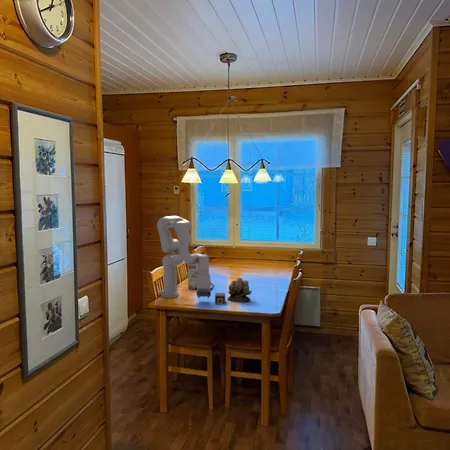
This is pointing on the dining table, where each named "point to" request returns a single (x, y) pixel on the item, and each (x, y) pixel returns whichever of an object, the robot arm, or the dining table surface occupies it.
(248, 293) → the brown stone statue
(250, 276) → the dining table surface
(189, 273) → the cracker box
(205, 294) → the left cover
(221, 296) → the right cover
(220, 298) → the letter cube
